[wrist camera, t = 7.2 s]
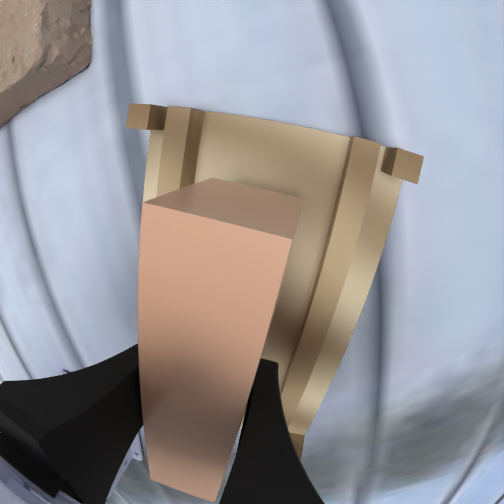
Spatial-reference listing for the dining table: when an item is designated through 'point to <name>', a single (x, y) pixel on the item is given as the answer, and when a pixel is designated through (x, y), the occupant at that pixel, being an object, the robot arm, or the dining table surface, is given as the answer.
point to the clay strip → (206, 320)
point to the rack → (308, 231)
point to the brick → (40, 49)
